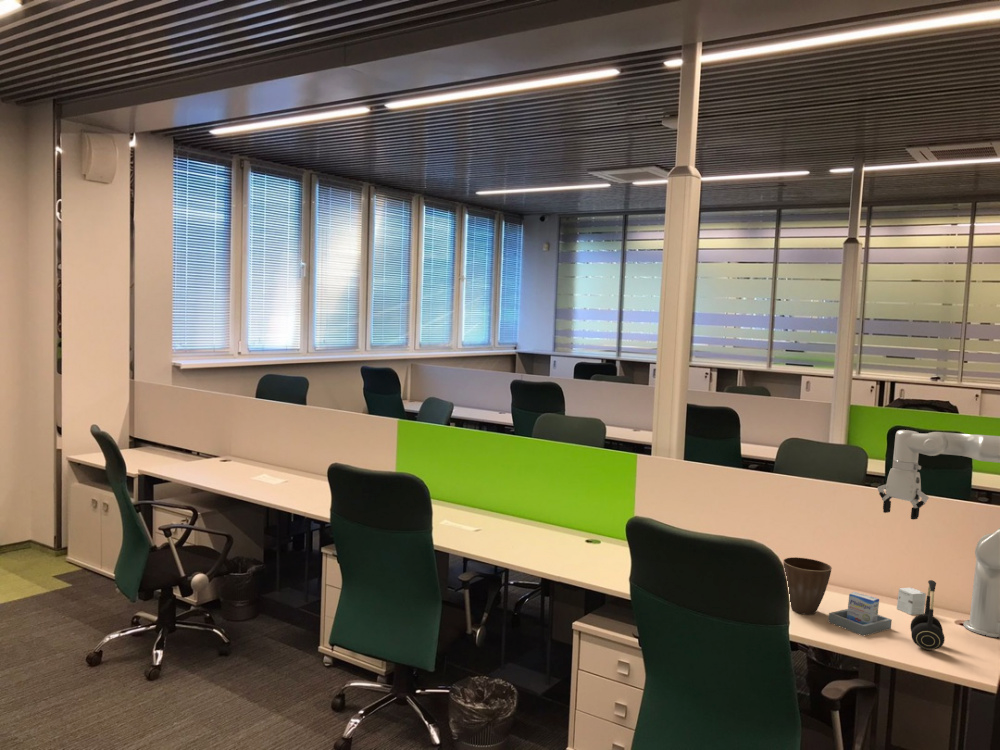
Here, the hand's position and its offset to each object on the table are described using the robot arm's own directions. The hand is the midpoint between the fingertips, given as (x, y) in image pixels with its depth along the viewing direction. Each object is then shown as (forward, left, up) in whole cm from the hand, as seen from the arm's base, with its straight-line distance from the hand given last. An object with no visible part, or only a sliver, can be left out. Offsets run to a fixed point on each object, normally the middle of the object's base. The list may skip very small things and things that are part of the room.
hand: (900, 515), depth 262 cm
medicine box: (-6, +27, -32) cm, 42 cm away
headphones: (-25, +24, -32) cm, 47 cm away
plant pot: (+10, +34, -32) cm, 48 cm away
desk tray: (-6, +28, -32) cm, 43 cm away
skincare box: (-5, -3, -32) cm, 33 cm away
